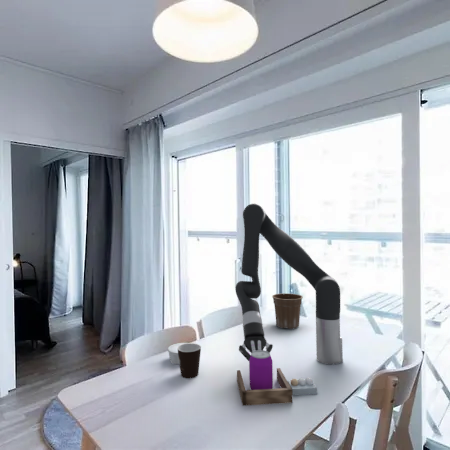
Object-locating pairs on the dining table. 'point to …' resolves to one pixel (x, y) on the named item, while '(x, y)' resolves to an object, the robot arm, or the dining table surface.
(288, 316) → the plant pot
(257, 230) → the robot arm
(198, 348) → the coffee mug
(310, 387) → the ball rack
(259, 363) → the beverage can
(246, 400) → the walnut U-seat
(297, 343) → the dining table surface
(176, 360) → the ramekin
